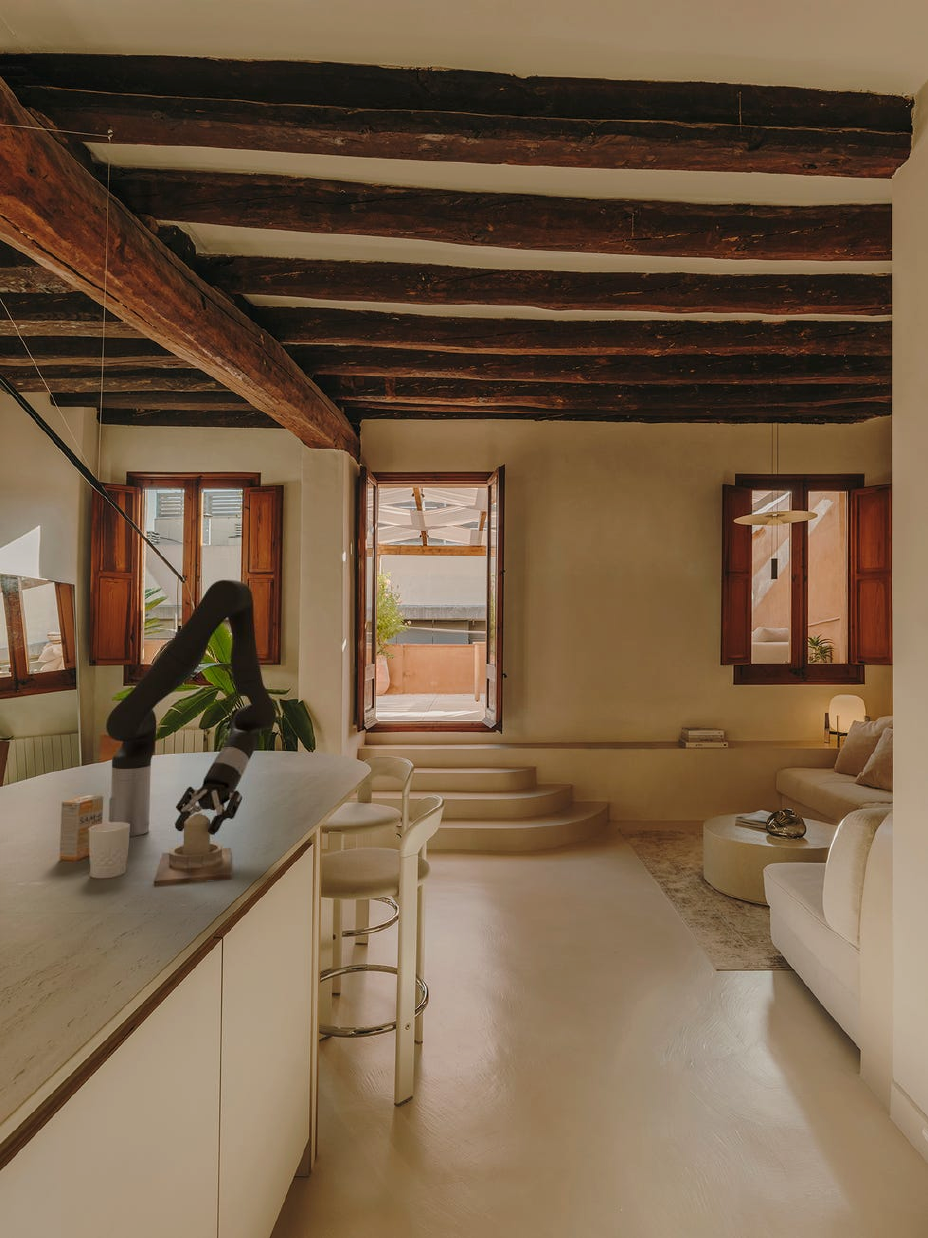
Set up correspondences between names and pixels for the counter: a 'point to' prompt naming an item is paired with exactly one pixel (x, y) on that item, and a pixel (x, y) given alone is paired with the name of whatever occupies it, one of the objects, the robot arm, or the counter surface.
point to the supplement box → (78, 825)
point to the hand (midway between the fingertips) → (194, 831)
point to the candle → (196, 835)
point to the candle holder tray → (194, 866)
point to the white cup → (108, 849)
